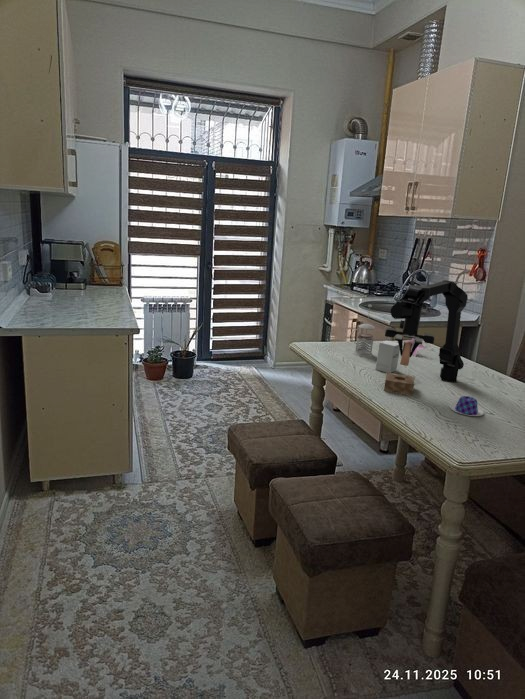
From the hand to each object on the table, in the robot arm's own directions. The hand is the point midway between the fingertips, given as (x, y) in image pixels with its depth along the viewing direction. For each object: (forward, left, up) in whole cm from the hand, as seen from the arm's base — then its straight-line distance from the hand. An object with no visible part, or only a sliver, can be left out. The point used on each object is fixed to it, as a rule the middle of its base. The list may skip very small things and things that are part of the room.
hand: (405, 356), depth 215 cm
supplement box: (+7, -23, -14) cm, 28 cm away
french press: (+20, -45, -14) cm, 51 cm away
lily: (-5, -62, -14) cm, 63 cm away
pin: (0, 0, -3) cm, 3 cm away
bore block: (+1, +2, -13) cm, 14 cm away
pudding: (-24, +15, -14) cm, 32 cm away
